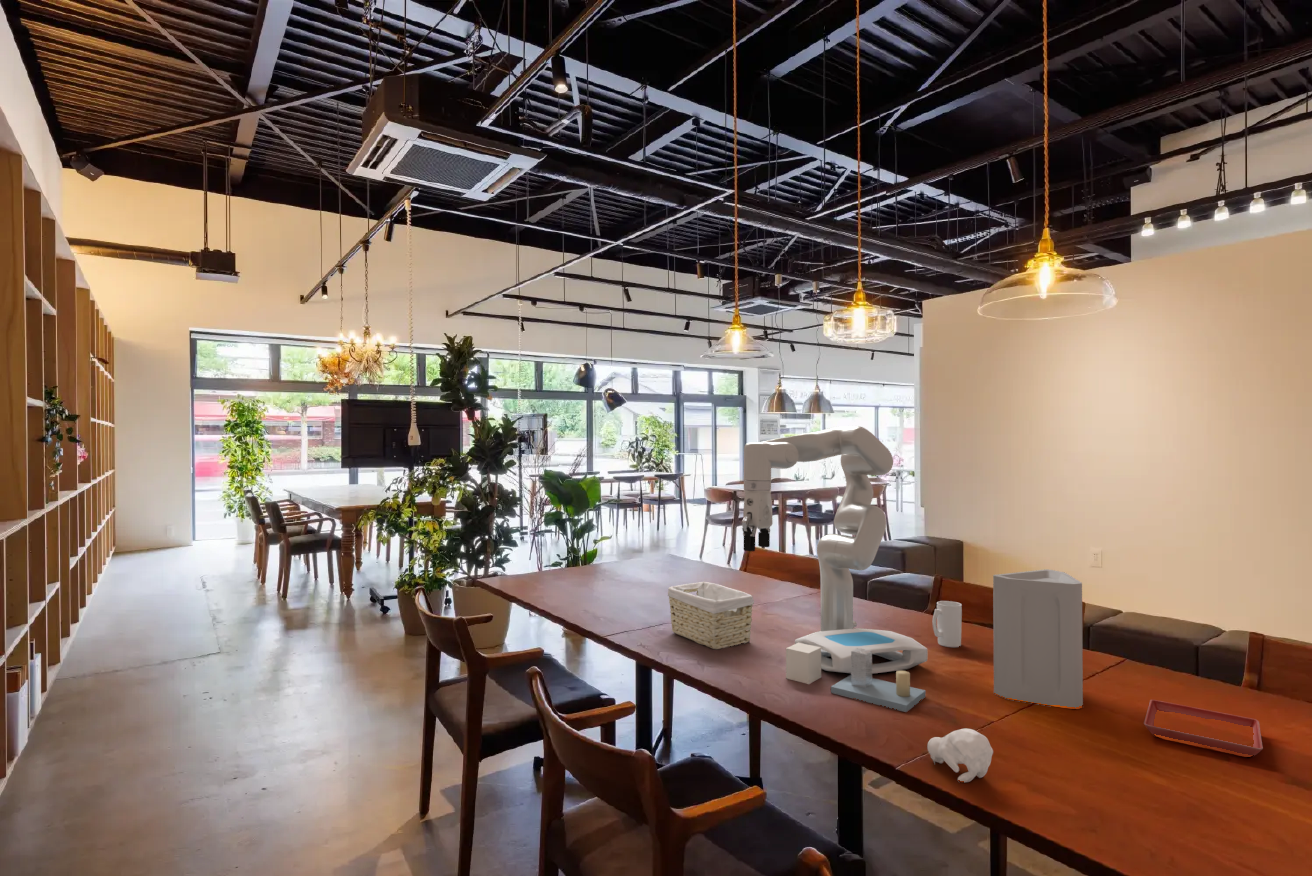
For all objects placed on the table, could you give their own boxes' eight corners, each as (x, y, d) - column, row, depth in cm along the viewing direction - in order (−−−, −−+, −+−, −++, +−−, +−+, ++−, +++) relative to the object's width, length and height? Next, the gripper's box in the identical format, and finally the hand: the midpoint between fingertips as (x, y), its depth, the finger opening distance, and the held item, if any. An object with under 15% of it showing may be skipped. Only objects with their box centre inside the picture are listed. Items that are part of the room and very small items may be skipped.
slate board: (852, 679, 172) (852, 653, 172) (925, 696, 160) (925, 669, 160) (831, 692, 163) (830, 665, 163) (906, 712, 151) (906, 682, 151)
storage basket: (756, 643, 203) (756, 593, 203) (713, 653, 194) (713, 601, 194) (706, 625, 223) (706, 580, 223) (665, 633, 214) (665, 586, 214)
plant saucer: (1150, 712, 151) (1150, 697, 151) (1258, 734, 140) (1258, 718, 140) (1143, 740, 137) (1143, 724, 137) (1263, 767, 126) (1263, 749, 126)
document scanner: (929, 667, 180) (929, 643, 180) (841, 678, 169) (841, 652, 170) (875, 647, 199) (875, 625, 199) (793, 656, 189) (793, 633, 189)
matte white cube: (798, 672, 178) (798, 642, 178) (821, 677, 173) (821, 647, 173) (786, 678, 173) (785, 648, 173) (808, 684, 168) (808, 653, 169)
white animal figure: (970, 738, 118) (915, 720, 128) (974, 790, 117) (919, 767, 127) (995, 731, 120) (939, 713, 131) (999, 781, 120) (943, 760, 130)
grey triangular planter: (1049, 716, 149) (1048, 587, 149) (992, 693, 162) (991, 575, 163) (1107, 703, 156) (1106, 580, 156) (1048, 682, 170) (1047, 569, 170)
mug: (948, 640, 206) (948, 600, 206) (967, 646, 200) (966, 604, 200) (923, 644, 201) (923, 603, 202) (942, 650, 195) (942, 608, 195)
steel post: (857, 680, 167) (857, 648, 167) (872, 684, 164) (871, 651, 164) (851, 684, 164) (851, 651, 164) (865, 688, 161) (865, 654, 161)
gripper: (756, 488, 180) (756, 554, 180) (782, 486, 195) (781, 546, 194) (731, 487, 184) (730, 551, 184) (757, 485, 199) (757, 544, 198)
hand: (756, 548), depth 189 cm, fingers open, 9 cm apart
